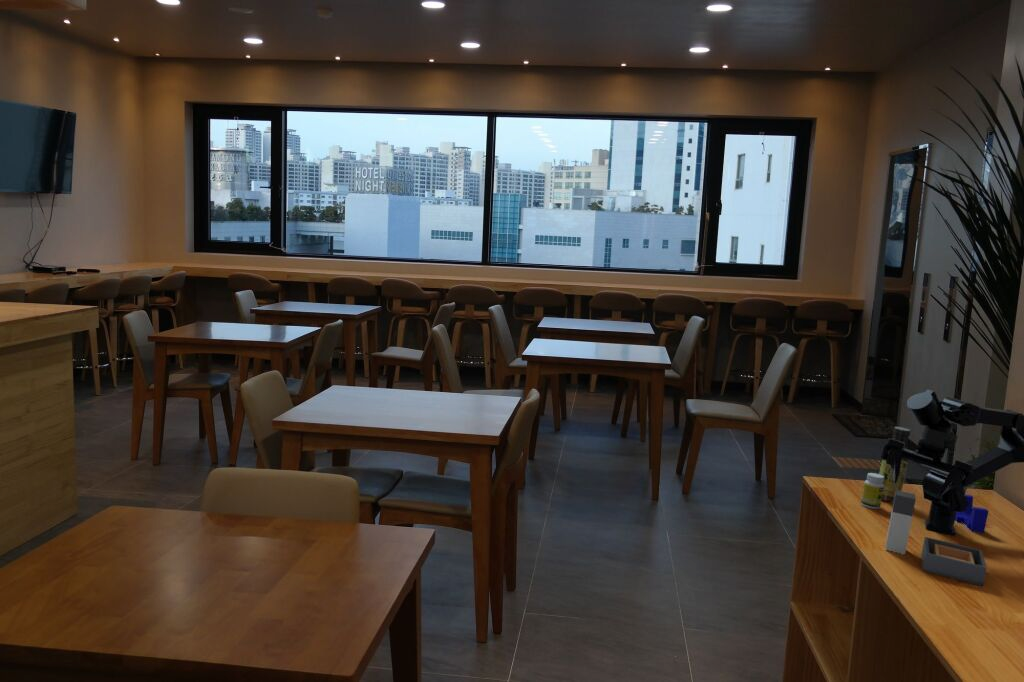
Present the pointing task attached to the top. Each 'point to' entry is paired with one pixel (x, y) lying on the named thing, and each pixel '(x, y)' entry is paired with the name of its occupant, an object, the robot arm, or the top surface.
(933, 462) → the robot arm
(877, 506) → the supplement bottle
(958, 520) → the cable clip
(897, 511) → the plug
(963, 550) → the walled box
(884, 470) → the sauce bottle
